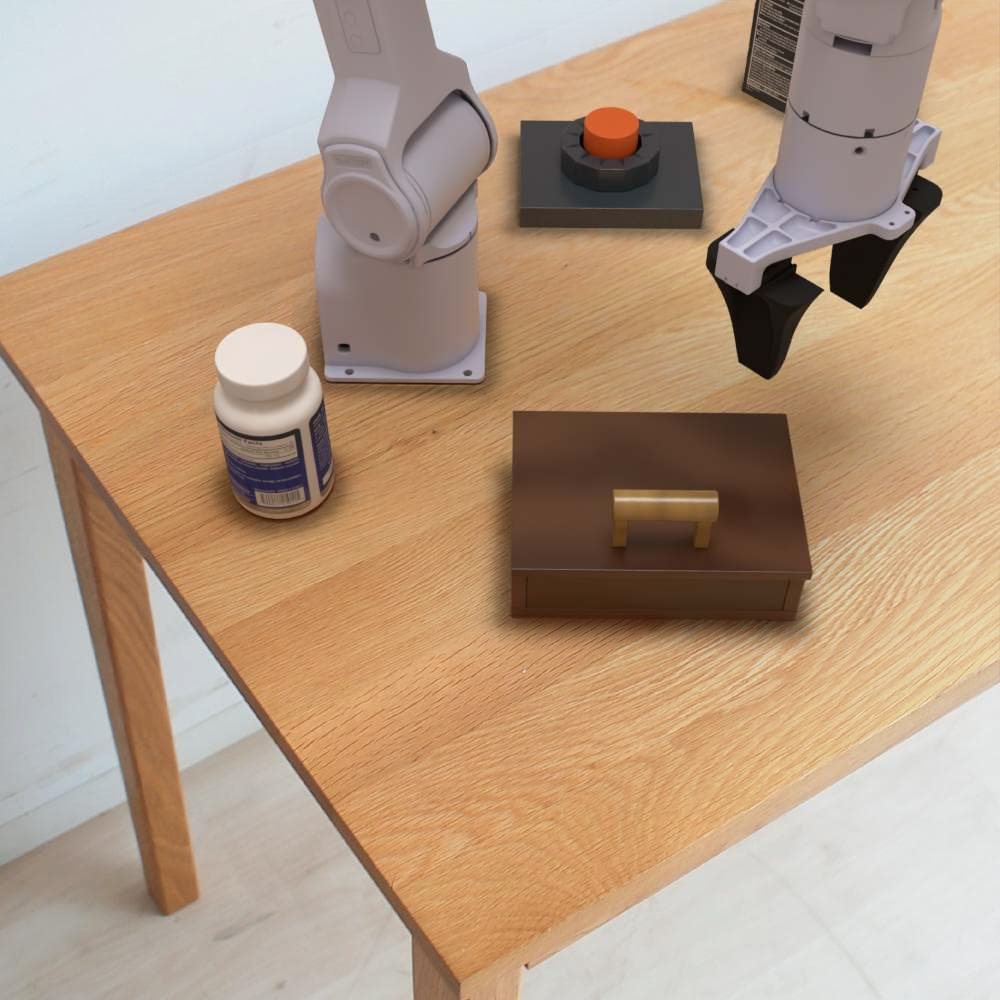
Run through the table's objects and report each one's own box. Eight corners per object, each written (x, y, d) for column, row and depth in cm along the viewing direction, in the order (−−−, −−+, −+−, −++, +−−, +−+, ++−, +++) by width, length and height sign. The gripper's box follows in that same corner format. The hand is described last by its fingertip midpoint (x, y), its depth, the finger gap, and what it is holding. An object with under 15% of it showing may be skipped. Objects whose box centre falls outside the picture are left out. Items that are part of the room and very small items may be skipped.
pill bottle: (283, 432, 83) (262, 299, 75) (356, 479, 80) (341, 346, 73) (210, 489, 80) (180, 357, 73) (283, 540, 78) (260, 408, 70)
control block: (519, 228, 95) (520, 184, 93) (520, 140, 102) (520, 97, 99) (701, 230, 95) (707, 186, 93) (690, 142, 102) (695, 98, 99)
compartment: (795, 620, 74) (808, 568, 71) (510, 617, 74) (511, 564, 71) (773, 475, 81) (784, 421, 77) (512, 473, 81) (512, 418, 78)
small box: (909, 115, 104) (942, -21, 96) (855, 152, 101) (884, 14, 93) (792, 57, 109) (815, -76, 101) (737, 91, 106) (756, -44, 98)
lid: (811, 580, 70) (825, 525, 67) (511, 577, 70) (511, 522, 67) (784, 420, 77) (796, 364, 74) (512, 418, 78) (513, 362, 75)
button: (583, 160, 95) (585, 137, 94) (582, 129, 98) (583, 106, 96) (638, 161, 95) (640, 138, 94) (635, 129, 97) (637, 107, 96)
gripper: (825, 211, 59) (777, 443, 69) (1021, 74, 65) (950, 303, 76) (693, 139, 62) (665, 370, 72) (892, 15, 69) (841, 242, 79)
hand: (804, 332), depth 74 cm, fingers open, 7 cm apart
